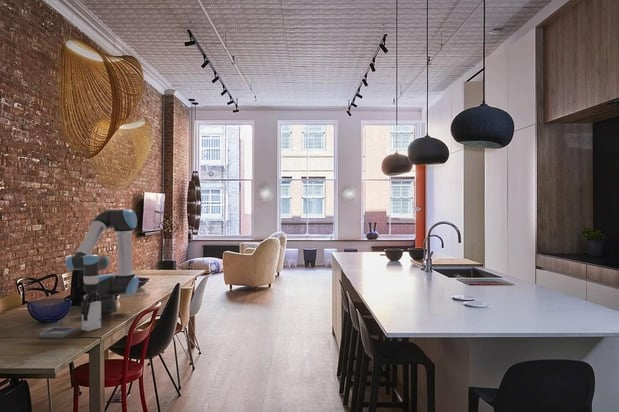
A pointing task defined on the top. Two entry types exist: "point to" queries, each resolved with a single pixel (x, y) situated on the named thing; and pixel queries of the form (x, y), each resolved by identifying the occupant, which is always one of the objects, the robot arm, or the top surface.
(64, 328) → the tray
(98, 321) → the skincare box
